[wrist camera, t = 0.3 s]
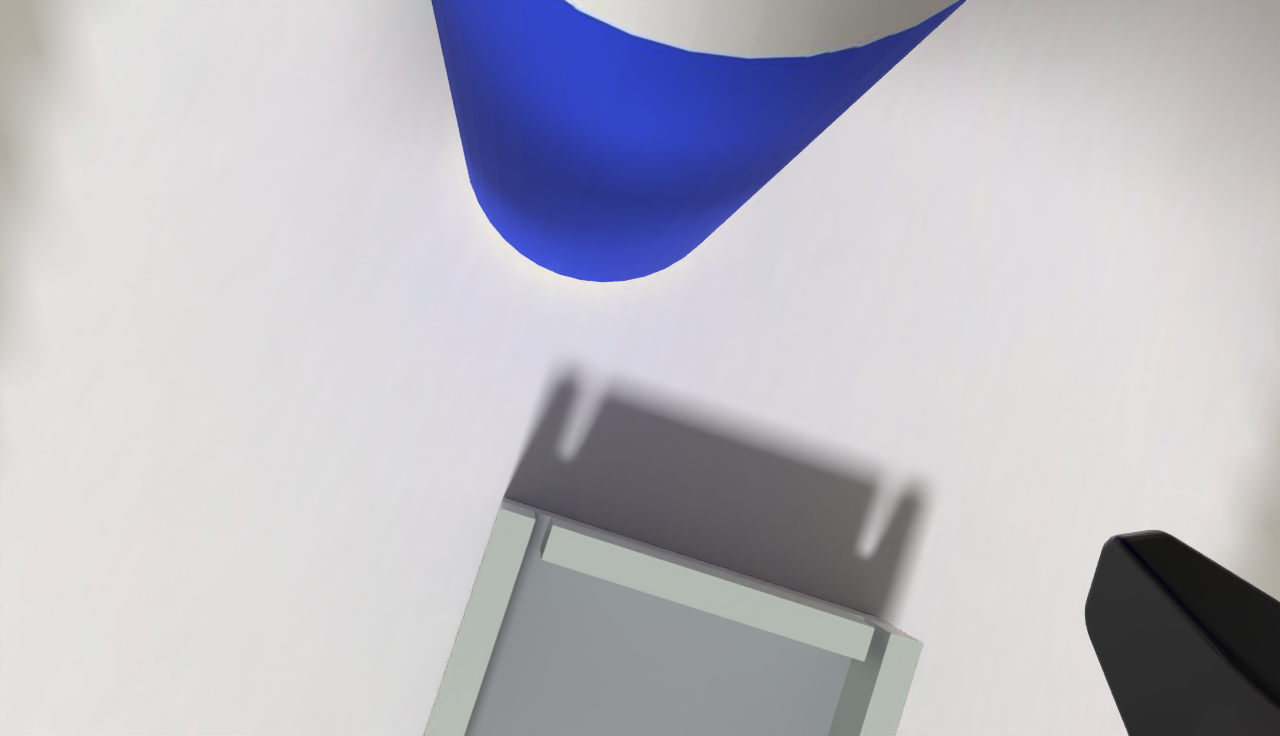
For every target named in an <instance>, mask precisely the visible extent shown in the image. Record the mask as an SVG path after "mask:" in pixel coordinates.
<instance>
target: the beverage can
mask: <svg viewBox="0 0 1280 736" xmlns="http://www.w3.org/2000/svg"><path fill="white" fill-rule="evenodd" d="M431 1H432V5H433V10H434V15H435V19H436V24H437V29H438V33H439V38H440V43H441V47H442V52H443V57H444V62H445V66H446V71H447V76H448V80H449V85H450V90H451V94H452V99H453V104H454V109H455V113H456V118H457V123H458V127H459V132H460V137H461V141H462V146H463V151H464V156H465V160H466V165H467V169H468V174H469V178H470V182H471V185H472V187H473V190H474V192H475V195H476V197H477V200H478V202H479V204H480V206H481V208H482V209H483V211H484V213H485V214H486V216H487V218H488V219H489V221H490V223H491V224H492V225H493V226H494V227H495V229H496V230H497V231H498V232H499V233H500V235H501V236H502V237H503V238H504V239H505V240H506V241H507V242H508V243H509V244H510V245H512V246H513V247H514V248H515V249H516V250H517V251H518V252H519V253H521V254H522V255H524V256H525V257H527V258H528V259H530V260H532V261H533V262H535V263H536V264H538V265H539V266H542V267H544V268H546V269H549V270H551V271H553V272H555V273H558V274H560V275H564V276H568V277H572V278H576V279H579V280H587V281H597V282H613V281H626V280H630V279H635V278H640V277H644V276H647V275H650V274H652V273H655V272H658V271H660V270H663V269H665V268H667V267H669V266H670V265H672V264H674V263H675V262H677V261H679V260H681V259H682V258H684V257H685V256H686V255H687V254H689V253H690V252H691V251H692V250H694V249H695V248H696V247H697V246H698V245H700V244H701V243H702V242H703V241H704V240H705V239H706V238H707V237H708V236H709V235H711V234H712V233H713V232H714V231H715V230H716V229H717V228H718V227H719V226H720V225H721V224H723V223H724V222H725V221H726V220H727V219H728V218H729V217H730V216H731V215H732V214H733V213H735V212H736V211H737V210H738V209H739V208H740V207H741V206H742V205H743V204H744V203H745V202H747V201H748V200H749V199H750V198H751V197H752V196H753V195H754V194H755V193H756V192H757V191H759V190H760V189H761V188H762V187H763V186H764V185H765V184H766V183H767V182H768V181H769V180H771V179H772V178H773V177H774V176H775V175H776V174H777V173H778V172H779V171H780V170H782V169H783V168H784V167H785V166H786V165H787V164H788V163H789V162H790V161H791V160H792V159H794V158H795V157H796V156H797V155H798V154H799V153H800V152H801V151H802V150H803V149H804V148H806V147H807V146H808V145H809V144H810V143H811V142H812V141H813V140H814V139H815V138H816V137H818V136H819V135H820V134H821V133H822V132H823V131H824V130H825V129H826V128H827V127H828V126H830V125H831V124H832V123H833V122H834V121H835V120H836V119H837V118H838V117H839V116H840V115H842V114H843V113H844V112H845V111H846V110H847V109H848V108H849V107H850V106H851V105H852V104H854V103H855V102H856V101H857V100H858V99H859V98H860V97H861V96H862V95H863V94H865V93H866V92H867V91H868V90H869V89H870V88H871V87H872V86H873V85H874V84H875V83H877V82H878V81H879V80H880V79H881V78H882V77H883V76H884V75H885V74H886V73H887V72H889V71H890V70H891V69H892V68H893V67H894V66H895V65H896V64H897V63H898V62H899V61H901V60H902V59H903V58H904V57H905V56H906V55H907V54H908V53H909V52H910V51H911V50H913V49H914V48H915V47H916V46H917V45H918V44H919V43H920V42H921V41H922V40H923V39H925V38H926V37H927V36H928V35H929V34H930V33H931V32H932V31H933V30H934V29H935V28H937V27H938V26H939V25H940V24H941V23H942V22H943V21H944V20H945V19H946V18H948V17H949V16H950V15H951V14H952V13H953V12H954V11H955V10H956V9H957V8H958V7H960V6H961V5H962V4H963V3H964V2H965V1H966V0H431Z"/></svg>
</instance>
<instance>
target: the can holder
mask: <svg viewBox="0 0 1280 736" xmlns="http://www.w3.org/2000/svg"><path fill="white" fill-rule="evenodd" d="M922 646H923V643H922V642H920V641H918V640H916V639H915V638H913V637H911V636H909V635H908V634H906V633H904V632H902V631H901V630H899V629H897V628H896V627H894V626H892V625H890V624H889V623H887V622H885V621H883V620H882V619H880V618H878V617H876V616H873V615H869V614H866V613H863V612H860V611H857V610H854V609H851V608H848V607H844V606H841V605H838V604H835V603H832V602H829V601H826V600H823V599H820V598H816V597H813V596H810V595H807V594H804V593H801V592H798V591H795V590H791V589H788V588H785V587H782V586H779V585H776V584H773V583H770V582H766V581H763V580H760V579H757V578H754V577H751V576H748V575H745V574H742V573H738V572H735V571H732V570H729V569H726V568H723V567H720V566H717V565H713V564H710V563H707V562H704V561H701V560H698V559H695V558H692V557H688V556H685V555H682V554H679V553H676V552H673V551H670V550H667V549H664V548H660V547H657V546H654V545H651V544H648V543H645V542H642V541H639V540H635V539H632V538H629V537H626V536H623V535H620V534H617V533H614V532H610V531H607V530H604V529H601V528H598V527H595V526H592V525H589V524H585V523H582V522H579V521H576V520H573V519H570V518H567V517H564V516H561V515H557V514H554V513H551V512H548V511H545V510H542V509H539V508H536V507H532V506H529V505H526V504H523V503H520V502H517V501H514V500H511V499H507V498H504V497H503V500H502V503H501V506H500V509H499V512H498V515H497V518H496V521H495V524H494V527H493V530H492V533H491V536H490V539H489V542H488V545H487V548H486V551H485V554H484V557H483V560H482V562H481V565H480V568H479V571H478V574H477V577H476V580H475V583H474V586H473V589H472V592H471V595H470V598H469V601H468V604H467V607H466V610H465V613H464V616H463V619H462V622H461V625H460V628H459V631H458V634H457V637H456V640H455V643H454V646H453V649H452V652H451V655H450V658H449V661H448V664H447V667H446V670H445V673H444V676H443V679H442V682H441V685H440V688H439V691H438V694H437V697H436V700H435V703H434V706H433V709H432V712H431V715H430V718H429V721H428V724H427V727H426V730H425V733H424V736H895V735H896V732H897V728H898V725H899V722H900V718H901V715H902V712H903V709H904V705H905V702H906V699H907V695H908V692H909V689H910V686H911V682H912V679H913V676H914V672H915V669H916V666H917V663H918V659H919V656H920V653H921V649H922Z"/></svg>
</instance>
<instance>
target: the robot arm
mask: <svg viewBox="0 0 1280 736" xmlns="http://www.w3.org/2000/svg"><path fill="white" fill-rule="evenodd" d="M1085 621H1086V627H1087V631H1088V634H1089V637H1090V640H1091V642H1092V645H1093V647H1094V650H1095V652H1096V655H1097V657H1098V660H1099V662H1100V665H1101V667H1102V670H1103V672H1104V675H1105V677H1106V680H1107V682H1108V685H1109V687H1110V690H1111V692H1112V695H1113V697H1114V700H1115V702H1116V705H1117V707H1118V710H1119V712H1120V715H1121V717H1122V720H1123V722H1124V725H1125V728H1126V730H1127V733H1128V735H1129V736H1280V602H1279V601H1277V600H1276V599H1274V598H1273V597H1271V596H1269V595H1268V594H1266V593H1265V592H1263V591H1261V590H1260V589H1258V588H1256V587H1255V586H1253V585H1252V584H1250V583H1248V582H1247V581H1245V580H1244V579H1242V578H1240V577H1239V576H1237V575H1235V574H1234V573H1232V572H1231V571H1229V570H1227V569H1226V568H1224V567H1223V566H1221V565H1219V564H1218V563H1216V562H1214V561H1213V560H1211V559H1210V558H1208V557H1206V556H1205V555H1203V554H1202V553H1200V552H1198V551H1197V550H1195V549H1193V548H1192V547H1190V546H1189V545H1187V544H1185V543H1184V542H1182V541H1181V540H1179V539H1177V538H1176V537H1174V536H1172V535H1170V534H1168V533H1166V532H1163V531H1160V530H1146V531H1140V532H1133V533H1126V534H1120V535H1115V536H1113V537H1111V538H1110V539H1109V540H1108V541H1107V542H1106V543H1105V544H1104V546H1103V548H1102V551H1101V554H1100V558H1099V561H1098V564H1097V568H1096V571H1095V574H1094V577H1093V581H1092V584H1091V587H1090V591H1089V594H1088V597H1087V601H1086V605H1085Z"/></svg>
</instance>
